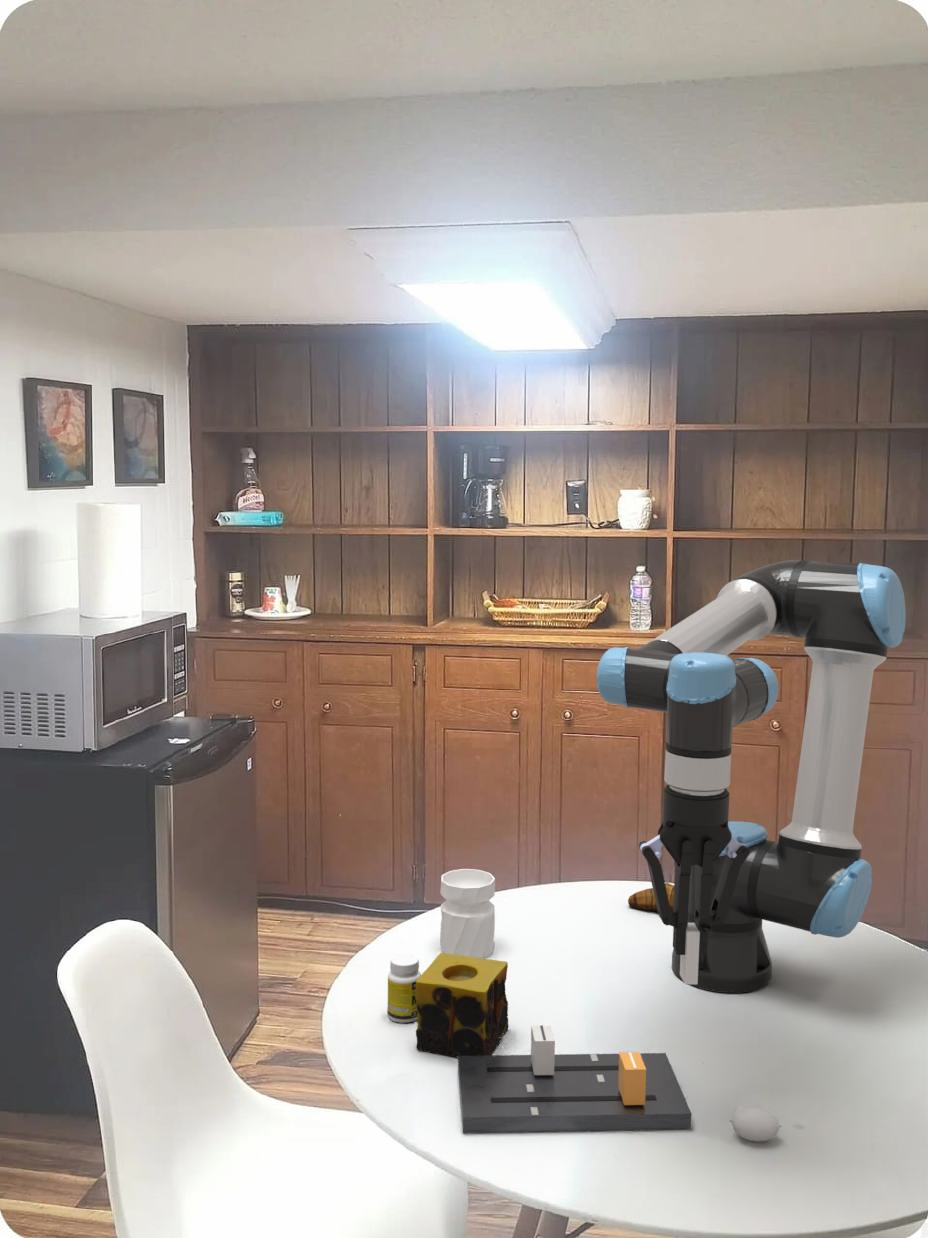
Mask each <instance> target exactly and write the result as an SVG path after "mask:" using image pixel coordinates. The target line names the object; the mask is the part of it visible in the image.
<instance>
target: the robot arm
mask: <svg viewBox="0 0 928 1238" xmlns="http://www.w3.org/2000/svg"><path fill="white" fill-rule="evenodd" d="M906 615H907V613H906V599H905V593H904V589H903V587H902V583H901V580H900V578H899V576H898V575H897V573H896V572H894V570H892V569H891V568H889V567H887V566H881V565H877V564H875V565H874V564H867V563H863V562H859V563H858V562H857V563H856V562H834V561H833V562H832V561H813V560H804V559H803V560H802V559H797V560H796V559H791V560H789V559H788V560H783V561H778V562H774V563H771V564H770V563H769V564H766V565H764V566H761V567H758V568H755V569H753V570H751V571H748V572H745V573H744V574H742V575H740V576H738V577H736V578H734V579H733V580H731V581H730V582H728V583H726V584H725V585H724V586H723V587H722V588H721V589H720V591H719V593H718V594H717V596H716V598H715V599H714V600H712V601H710V602H709V603H707V604H706V605H704V606H703V607H702V608H700V609H698V610H697V611H695V612H694V613H692V614H690V615H689V616H687V617H686V618H684V619H682V620H681V621H679V622H678V623H677V624H674V625H673V626H671V628H669V629H668V630H665V631H664V632H662V633H661V634H660V635H658V636H657V637H655V638H653V639H652V640H650V641H649V642H647V643H645V644H644V645H642V646H640V647H639V648H631V647H629V646H625V647H610V648H608V650H606V651H605V652H604V653H603V655H602V656H601V657H600V660H599V663H598V665H597V669H596V670H597V671H596V682H597V684H596V686H597V691H598V693H599V695H600V697H601V698H602V700H603V701H605V702H606V703H609V704H613V705H618V706H622V707H625V708H626V709H628V708H629V709H630V708H633V709H640V710H646V711H654V712H659V713H666V735H665V736H666V738H665V739H666V740H665V757H664V758H665V759H664V783H666V784H667V785H666V786H664V788H663V798H662V799H663V801H662V803H663V804H662V821H661V825H660V827H659V828H658V830H657V836H655V837H652V838H651V839H650V840H649V841H645V840H642V841H640V842H639V844H638V848H639V850H640V852H641V853H642V855H643V856H644V858H645V860H646V862H647V866H648V867H647V868H648V872H649V877H650V881H651V888H653V891H654V896H655V901H656V906H657V910H658V911H657V914H658V916H659V918H660V920H661V922H662V923H663V925H665V926H671V927H673V928H672V949H673V950H672V952H671V953H672V954H671V969H672V972H673V973H674V974H675V976H676V977H677V978H679V979H680V980H681V981H683V983H684V985H690V986H694V987H696V988H699V989H702V990H708V991H712V992H719V993H729V994H732V993H733V994H734V993H735V994H736V993H737V994H738V993H747V992H748V993H749V992H753V991H756V990H757V991H758V990H760V989H762V988H765V987H766V986H767V985H769V983H770V982H771V980H772V977H773V976H772V974H773V973H772V972H773V962H772V958H771V954H770V950H769V947H768V943H767V940H766V938H765V933H764V930H763V921H767V922H772V923H774V924H778V925H784V926H787V927H790V928H795V929H799V930H802V931H806V932H809V933H810V934H812V935H821V936H826V937H831V938H837V939H838V938H843V937H846V936H847V935H849V934H851V933H852V931H853V930H855V928H856V926H857V925H858V923H859V922H860V920H861V918H862V917H863V915H864V911H865V909H866V906H867V905H868V904H867V903H868V901H869V899H870V898H869V897H870V893H871V888H872V884H873V876H872V875H873V869H872V868H873V867H872V865H871V864H870V862H868V861H866V859H863V858H861V857H862V856H861V855H862V847H863V846H862V844H861V843H860V841H859V840H858V839H857V837H856V836H855V835H854V831H853V829H854V823H855V817H856V816H855V814H856V809H857V799H858V793H859V785H860V777H861V776H860V775H861V770H862V761H863V753H864V746H865V738H866V730H867V723H868V715H869V708H870V701H871V700H870V699H871V694H872V683H873V680H874V679H873V678H874V670H876V668H877V667H878V666H880V665H881V664H883V663H884V662H885V661H886V660H887V657H888V649H893V648H896V647H898V646H900V644H901V643H902V641H903V637H904V634H905V629H906V618H907V617H906ZM770 635H771V636H773V635H774V636H775V635H776V636H786V637H795V638H804V645H803V650H804V651H805V653H806V654H807V655H808V657H810V659H811V661H812V666H811V674H810V681H809V682H810V683H809V689H808V695H807V696H808V698H807V702H806V703H807V704H806V713H805V719H804V720H805V721H804V726H803V735H802V741H801V751H800V757H799V763H798V765H799V766H798V771H797V780H796V788H795V793H794V795H795V796H794V802H793V810H792V816H791V822H790V823H789V824H788V825H787V826H785V827H784V828H782V829H781V830H780V831H779V833H778V840H777V841H773V840H769V839H768V836H769V834H768V831H767V830H766V828H765V827H764V826H762V825H760V824H758V823H754V822H748V821H747V822H746V821H729V813H730V811H729V810H730V792H729V791H728V789H727V788H729V786H730V785H731V766H732V745H733V744H732V741H733V728H735V727H737V726H739V725H741V724H744V723H748V722H751V721H755V720H757V719H759V718H761V717H762V716H763V715H764V714H766V713H768V712H769V711H770V710H771V709H772V708H773V707H774V705H775V704H776V703H777V699H778V697H779V691H780V688H779V679H778V677H777V675H776V673H775V672H774V670H773V669H772V667H771V666H770V665H768V664H767V663H766V662H764V661H763V660H760V659H758V658H753V657H748V658H744V657H738V658H736V659H732V658H731V657H729V655H730V654H732V653H733V652H734V651H735V650H737V649H738V648H740V647H741V646H742V645H743V644H745V643H746V642H754V641H759V640H761V639H763V638H765V637H766V636H770ZM662 847H664V848H665V849H666V850H667V852H668V853H669V855H670V856H671V858H672V859H673V860H674V861H673V863H674V864H673V866H674V880H673V885H674V901H673V912H671V909H670V905H669V900H668V895H667V890H666V886H665V883H666V882H665V877H664V873H663V872H664V870H663V868H662V865H661V862H660V858H661V857H662V854H663V852H662Z"/></svg>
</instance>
